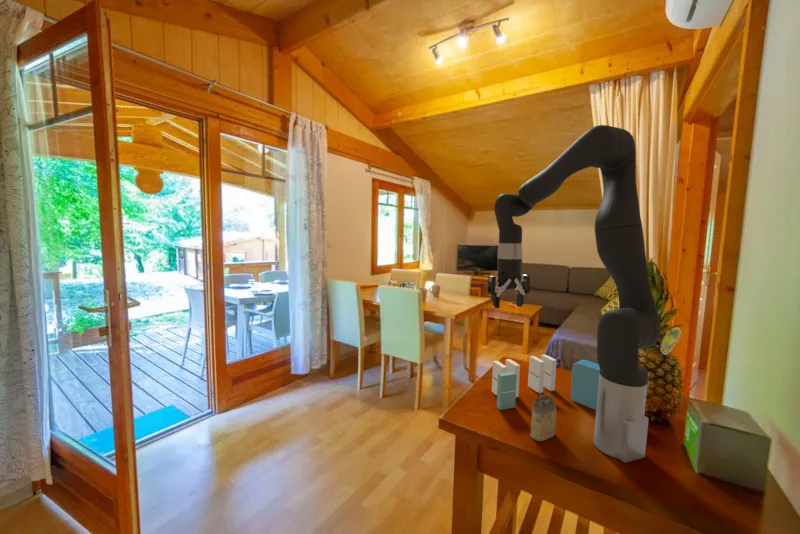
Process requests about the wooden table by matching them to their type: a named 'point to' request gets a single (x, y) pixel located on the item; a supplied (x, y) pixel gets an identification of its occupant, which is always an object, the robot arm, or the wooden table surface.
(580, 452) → the wooden table surface
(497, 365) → the domino
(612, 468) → the wooden table surface
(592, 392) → the blue flat block
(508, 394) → the domino
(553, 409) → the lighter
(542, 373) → the domino
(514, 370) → the domino
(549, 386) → the domino
